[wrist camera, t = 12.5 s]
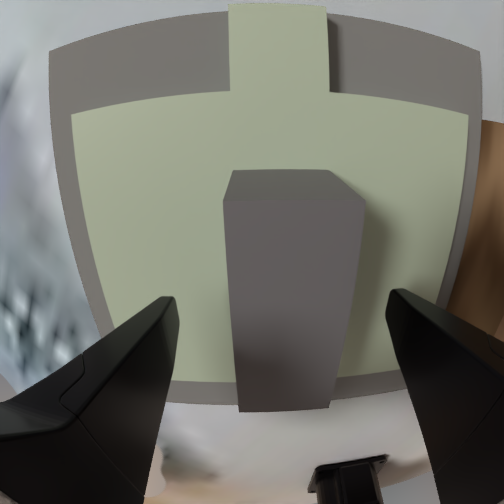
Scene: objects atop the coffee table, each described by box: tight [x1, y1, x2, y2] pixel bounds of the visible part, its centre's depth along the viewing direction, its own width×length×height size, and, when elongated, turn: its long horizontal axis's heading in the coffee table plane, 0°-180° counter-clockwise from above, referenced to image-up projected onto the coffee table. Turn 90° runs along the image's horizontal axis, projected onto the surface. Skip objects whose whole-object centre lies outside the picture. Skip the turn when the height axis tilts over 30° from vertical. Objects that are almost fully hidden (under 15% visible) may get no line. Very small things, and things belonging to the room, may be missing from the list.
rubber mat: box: [49, 11, 482, 405], centre depth 12 cm, size 18×17×1 cm
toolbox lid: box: [71, 3, 468, 412], centre depth 9 cm, size 15×14×4 cm
